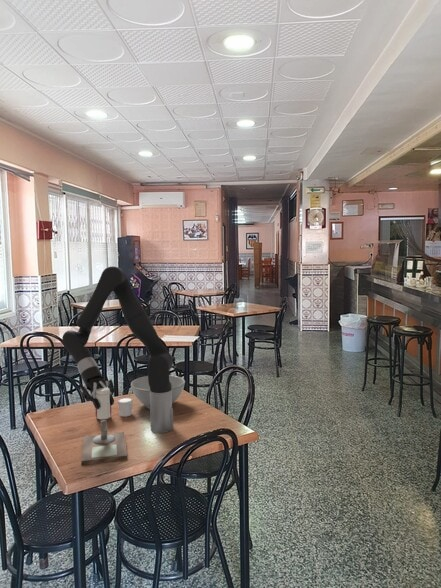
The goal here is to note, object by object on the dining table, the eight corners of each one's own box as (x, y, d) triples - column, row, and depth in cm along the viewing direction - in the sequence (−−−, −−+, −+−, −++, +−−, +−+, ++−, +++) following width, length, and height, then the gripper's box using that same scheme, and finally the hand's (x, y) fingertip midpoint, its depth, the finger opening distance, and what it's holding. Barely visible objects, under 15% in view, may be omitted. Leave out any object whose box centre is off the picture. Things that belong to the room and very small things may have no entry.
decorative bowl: (169, 393, 232) (169, 372, 231) (195, 407, 210) (194, 383, 209) (123, 403, 217) (122, 380, 216) (144, 419, 195) (144, 393, 194)
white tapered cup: (120, 418, 197) (119, 403, 196) (116, 413, 203) (116, 399, 202) (134, 415, 200) (134, 400, 199) (130, 410, 206) (130, 396, 205)
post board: (124, 435, 177) (123, 414, 177) (127, 459, 156) (126, 435, 156) (83, 440, 173) (83, 418, 172) (81, 465, 152) (80, 440, 151)
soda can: (102, 422, 192) (101, 396, 191) (92, 418, 196) (91, 393, 195) (114, 417, 198) (114, 392, 196) (105, 414, 202) (104, 389, 201)
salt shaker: (110, 413, 172) (109, 387, 171) (110, 418, 167) (109, 391, 166) (97, 415, 171) (96, 388, 170) (96, 419, 166) (95, 392, 165)
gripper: (75, 369, 168) (92, 405, 160) (108, 362, 178) (125, 396, 170) (70, 379, 172) (86, 416, 164) (102, 372, 182) (118, 406, 175)
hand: (105, 405), depth 167 cm, fingers closed on salt shaker, 5 cm apart
